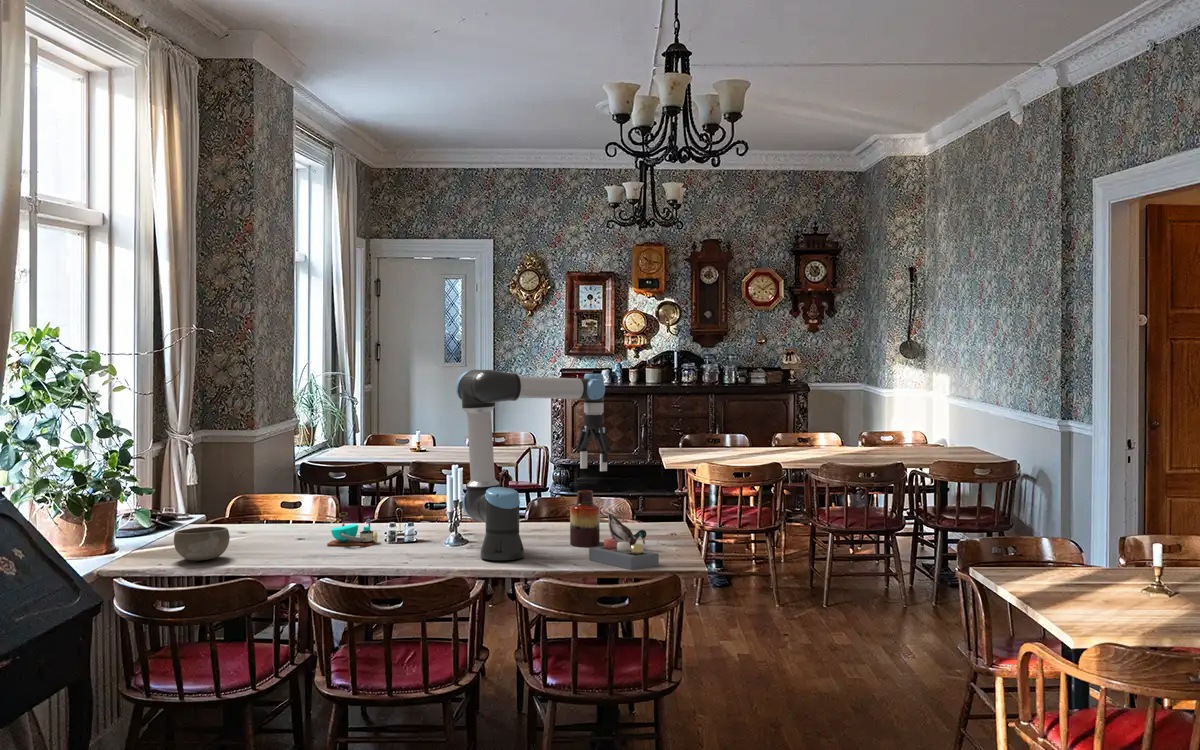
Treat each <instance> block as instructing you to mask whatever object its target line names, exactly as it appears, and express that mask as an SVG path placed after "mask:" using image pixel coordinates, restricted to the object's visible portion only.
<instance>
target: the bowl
mask: <svg viewBox="0 0 1200 750" xmlns="http://www.w3.org/2000/svg"><path fill="white" fill-rule="evenodd" d="M230 538H231V537H230V532H229V529H228V527H226V526H225V527H223V526H199V527H192V528H190V527H189V528H184V529H180V530H177V531H175V532H174V535H173V545H174V548H175V551H176V552H177V553H178V555H179V556H180V557H182V558H183V559H185V560H189V561H207V560H213V559H217V558H218V557H220V556H222V555H223V554H224V553H225V552H226V550H227V548H228V546H229V544H230Z"/></svg>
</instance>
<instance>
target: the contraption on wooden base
mask: <svg viewBox="0 0 1200 750" xmlns="http://www.w3.org/2000/svg"><path fill="white" fill-rule="evenodd" d="M338 516H339V518H338V520H337V521H336V523H337V524H339V523H340V519H341V518H343V523H342V524H341V526H339V527H333V528H331V529H330V532H331V535H332V537H333V538H334V540H331V541H329V542H327V543H326V544H327V545H325V546H326V547H331V548H332V547H334V548H335V547H337V548H338V547H345V548H347V546H360V547H359V548H368V547H372V546H373V545H375V544H376V543H377V542H378V532H376V531H374V530H373V531H372V530H371V519H370V518H367V519H366V520H365V524H368V525H367V526H366V525H365V526H363V530H362V531H360V532H359V533H360V534H359V535H360V536H359V537H358V536H357V535H358V531H359V524H357V523H352V524H348V525H346V524H345V519H346V518H347V517H348V516H349V513H348V512H346V511H345V512H344V511H343V512H340V513H338Z"/></svg>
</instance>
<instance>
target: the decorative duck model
mask: <svg viewBox="0 0 1200 750" xmlns="http://www.w3.org/2000/svg"><path fill="white" fill-rule="evenodd" d="M607 517H608V518H607V519H608V526H609V533H610V535H611V537H612V538H611V539H615V540H616V545H617V542H629V543H630V548H631V545H636V543H637V541H638V539H639V538H641V539H642V545H646V537H647V530H645V529H639V530H638V531H637V532H636V533H635V534H634V533H633V532H632V530H631V529H630V528H629V527H627V526H626V525H624V524H623V523H622V522H621V521H620V520H619V519H618V518H617V517H616V516H615V515H613V514H610V513H609V514H608V516H607Z"/></svg>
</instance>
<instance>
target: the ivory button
mask: <svg viewBox="0 0 1200 750" xmlns="http://www.w3.org/2000/svg"><path fill="white" fill-rule="evenodd" d="M616 543H617V544H616V545H617V552H621V553H625V552H630V543H629V542H616Z"/></svg>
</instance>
